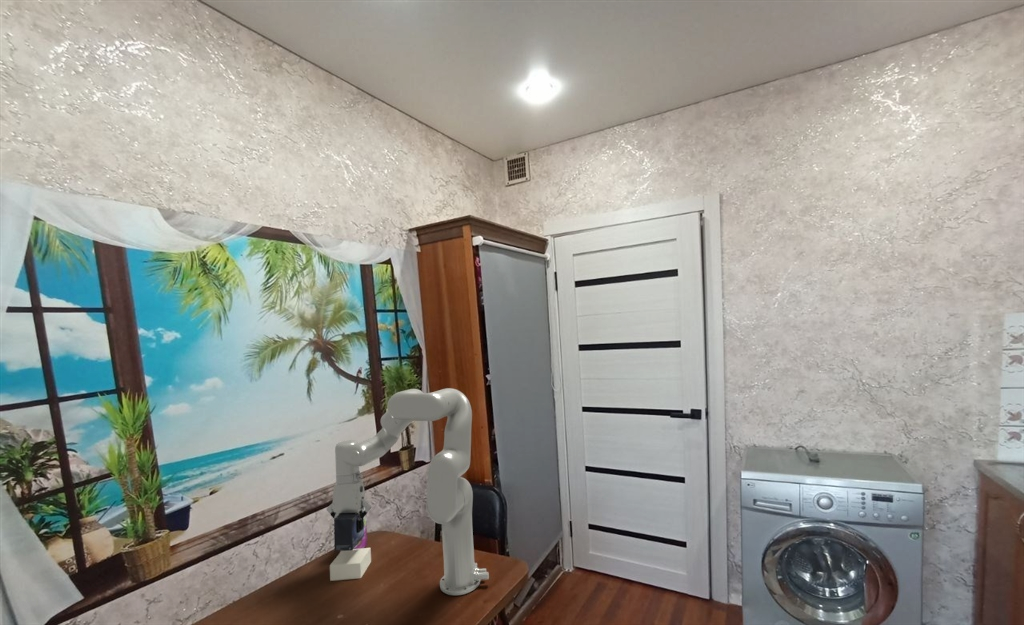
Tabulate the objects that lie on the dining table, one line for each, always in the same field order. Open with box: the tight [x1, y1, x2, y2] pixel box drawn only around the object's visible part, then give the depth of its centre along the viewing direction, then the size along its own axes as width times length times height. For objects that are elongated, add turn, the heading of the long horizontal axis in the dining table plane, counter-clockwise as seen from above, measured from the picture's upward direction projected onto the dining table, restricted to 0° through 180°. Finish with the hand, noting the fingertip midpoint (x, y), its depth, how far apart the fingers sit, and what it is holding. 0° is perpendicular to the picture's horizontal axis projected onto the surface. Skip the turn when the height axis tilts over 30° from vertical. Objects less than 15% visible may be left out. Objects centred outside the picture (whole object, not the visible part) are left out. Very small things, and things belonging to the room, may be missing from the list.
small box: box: [333, 508, 364, 552], centre depth 136 cm, size 11×6×10 cm, turn 179°
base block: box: [329, 547, 372, 582], centre depth 135 cm, size 10×10×5 cm
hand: (349, 530), depth 136 cm, fingers closed on small box, 6 cm apart
